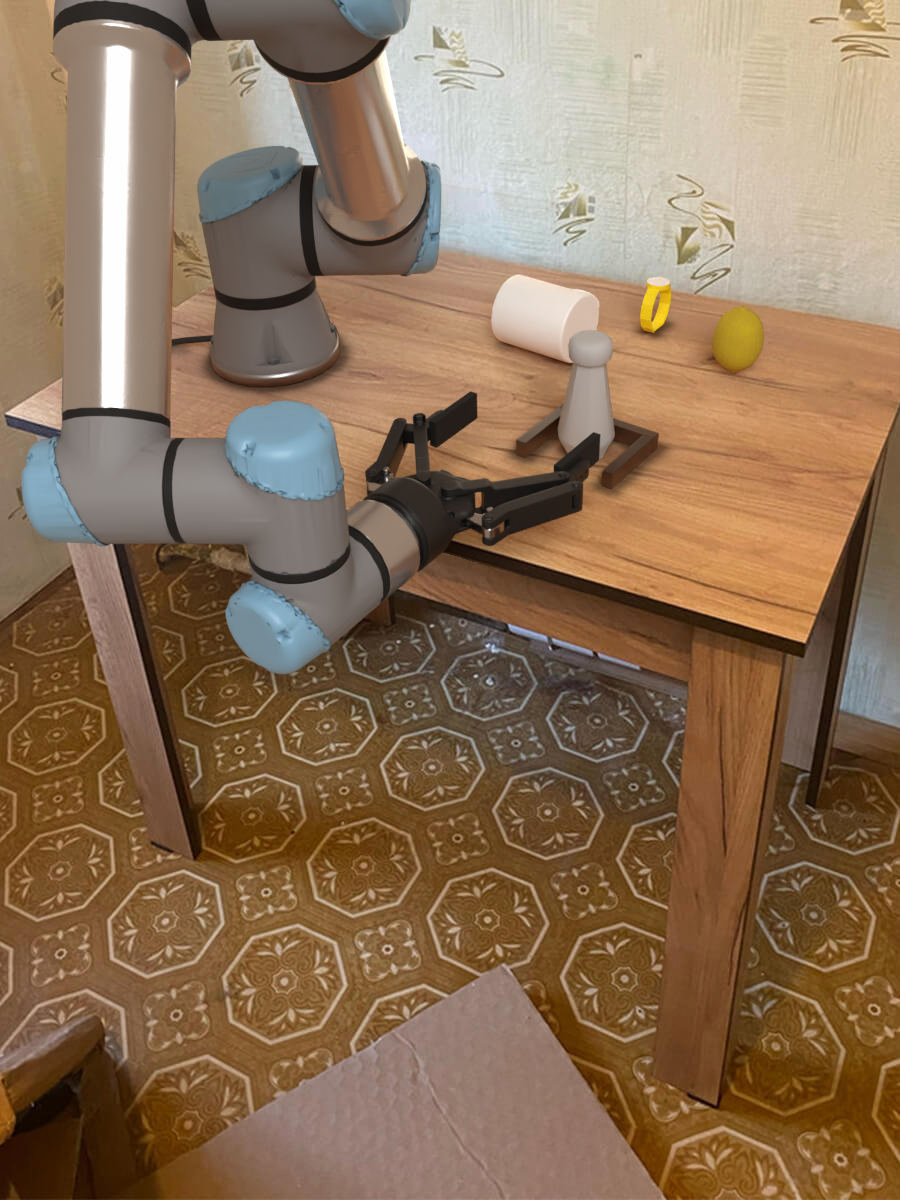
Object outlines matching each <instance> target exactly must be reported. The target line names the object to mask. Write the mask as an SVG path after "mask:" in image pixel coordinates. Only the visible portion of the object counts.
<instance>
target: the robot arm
mask: <svg viewBox="0 0 900 1200" xmlns="http://www.w3.org/2000/svg"><path fill="white" fill-rule="evenodd" d="M411 4H412V0H54V5H53V6H54V7H53V27H52V31H53V32H52V52H53V55H54V58H55V59H56V61H57V63H58V64H59V65H60V66H61V67H62V68H63V69H64V70H65V72H67V73H66V74H67V78H66V79H67V80H66V81H67V83H66V135H65V136H66V137H65V138H66V139H65V193H64V194H65V195H64V197H65V198H64V199H65V200H64V255H63V256H64V257H63V258H64V260H63V311H62V312H63V313H62V315H63V316H62V317H63V318H62V322H63V323H62V366H61V367H62V369H61V428H60V435H59V436H52V437H51V438H43V439H40V440H38V441H36V442H35V443H34V444H33V445H32V446H30V448H29V450H28V451H27V452H26V457H25V466H24V467H23V468H22V470H21V478H20V479H21V480H20V481H21V482H20V484H21V485H20V486H21V497H22V502H23V508H24V510H25V515H26V516H27V519H28V521H29V522H30V524H31V526H32V528H33V529H34V530H35V531H36V533H38V534H39V536H41V537H43V538H44V539H47V540H48V541H49V542H51V543H52V542H53V543H65V544H66V543H67V544H68V543H69V544H88V545H96V546H98V547H107V546H109V545H139V544H140V545H144V544H146V545H150V544H152V545H155V544H156V545H157V544H158V545H159V544H160V545H161V544H181V545H183V544H185V545H186V544H187V545H244V546H245V548H246V549H245V550H246V553H247V558H248V563H249V567H250V572H251V579H250V580H248V581H245V582H243V583H241V586H240V587H239V588H238V589H237V590H236V591H235V592H234V593H233V594H232V595H231V596H229V599H228V603H227V606H226V609H225V620H226V624H227V628H228V629H229V632H230V635H231V636H232V638H233V640H234V641H235V643H236V644H237V646H238V647H239V648H240V650H241V651H242V652H243V653H244V654H245V656H247V657H248V658H249V659H250V660H251V661H252V662H253V663H255V664H256V665H258V667H262V668H264V669H265V670H267V671H268V672H270V673H273V674H277V675H289V674H293V673H295V672H297V671H299V670H300V669H302V668H303V667H305V666H306V665H307V664H309V663H310V662H312V661H313V660H315V659H316V658H317V657H319V656H320V655H322V654H323V653H327V652H328V651H329V650H330V649H331V646H333V645H334V644H335V643H336V642H337V641H338V640H340V639H341V638H342V637H343V636H345V634H347V633H348V632H349V631H350V630H351V629H353V628H354V627H355V626H356V625H357V624H358V623H360V622H361V621H362V620H363V619H365V618H366V617H367V616H368V615H369V614H370V613H371V612H373V611H374V610H375V609H376V608H377V607H378V606H379V605H381V604H382V603H383V602H384V601H386V600H387V599H389V597H390V596H392V595H393V594H394V593H395V592H397V591H398V590H399V589H400V588H401V587H402V586H404V585H405V584H407V582H408V581H410V580H412V578H413V577H415V575H416V573H419V572H421V571H422V570H424V569H425V568H426V567H427V566H428V565H430V564H431V563H432V562H433V561H435V559H437V558H438V557H439V556H440V555H442V554H443V553H444V552H445V551H446V550H447V548H448V547H449V546H450V544H451V542H452V541H453V539H454V538H455V537H456V535H459V534H460V533H462V532H466V531H469V530H472V531H473V532H475V533H477V534H479V535H481V542H482V545H484V546H486V547H492V546H495V545H497V544H498V543H499V542H501V541H503V540H504V539H505V538H506V537H508V536H510V535H513V534H517V533H519V532H523V531H526V530H529V529H533V528H535V527H537V526H540V525H543V524H547V523H549V522H553V521H555V520H559V519H561V518H564V517H567V516H571V515H573V514H577V513H579V512H581V511H582V510H583V505H584V502H583V501H584V482H585V481H586V480H587V479H588V478H589V476H590V469H591V468H592V467H594V465H596V464H597V463H598V462H599V461H600V459H599V453H600V435H601V434H598V433H595V432H593V433H592V434H590V435H589V436H588V437H587V438H586V439H584V440H583V441H582V442H581V443H580V444H578V445H577V446H576V447H575V448H574V449H572V450H571V451H570V452H569V453H568V454H567V453H566V454H565V455H564V456H563V457H561V458H560V459H559V460H558V461H557V462H556V463H554V464H553V471H552V472H546V473H539V474H532V475H527V476H520V477H514V478H508V479H502V480H494V481H490V480H489V478H486V477H482V478H476V479H470V478H469V479H468V478H465V477H463V476H458V475H454V474H453V473H451V472H450V471H448V470H445V469H441V470H431V464H430V455H429V454H430V452H429V445H430V447H432V448H436V449H438V448H439V447H440V446H441V445H443V444H445V443H446V442H447V441H449V440H450V439H451V438H453V437H454V436H455V435H456V434H458V433H460V432H461V431H462V430H464V429H465V428H466V427H468V426H469V425H470V424H472V423H473V422H474V421H476V420H477V419H478V393H477V392H475V391H471V390H470V391H469V392H467V393H466V394H465V395H463V396H462V397H460V398H459V399H457V400H456V401H455V402H453V403H451V404H450V405H449V406H447V407H446V408H445V409H439V410H436V411H435V412H434V413H432V414H430V415H428V416H427V415H426V414H425V413H423V412H417V413H414V414H413V415H412V423H408V422H407V419H406V418H404V417H397V418H394V420H393V422H392V424H391V426H390V428H389V431H388V433H387V435H386V438H385V439H384V442H383V445H382V447H381V449H380V452H379V454H378V457H377V459H376V461H374V462H373V463H372V464H371V465H370V466H369V467H367V469H366V470H365V471H364V475H365V487H366V496H365V497H364V498H362V500H359V501H357V502H356V503H355V504H354V505H352V506H351V507H350V508H348V509H347V502H346V493H345V469H344V467H343V466H342V461H341V459H340V454H339V448H338V442H337V436H336V431H335V427H334V425H333V423H332V421H331V420H330V417H328V416H327V415H326V414H325V413H324V412H323V411H322V410H320V409H318V408H317V407H315V406H313V405H311V404H308V403H305V402H301V401H295V400H273V401H271V402H270V403H269V404H265V405H259V404H256V405H253V406H250V407H248V408H245V409H244V410H242V411H241V412H239V413H238V414H237V415H235V416H234V417H233V419H232V420H231V421H230V422H229V424H228V426H227V427H226V431H225V437H171V435H172V432H171V428H172V427H171V425H172V421H171V406H172V405H171V398H172V353H173V352H172V346H180V345H185V344H186V345H187V344H199V343H209V355H210V360H211V366H212V368H213V370H214V372H215V373H216V374H217V375H218V376H219V377H221V378H223V379H224V380H227V381H229V382H231V383H234V384H239V385H243V386H247V387H248V386H249V387H262V388H263V387H264V388H265V387H278V386H286V385H291V384H296V383H300V382H303V381H306V380H309V379H312V378H314V377H316V376H318V375H320V374H322V373H323V372H326V371H327V370H328V369H329V368H331V367H332V366H333V365H334V364H335V362H337V360H338V358H339V356H340V343H339V339H341V338H340V337H341V336H340V334H339V331H338V329H337V326H336V324H335V322H334V321H331V318H330V315H329V313H328V311H327V308H326V306H325V304H324V302H323V300H322V298H321V296H320V293H319V291H318V288H317V281H316V277H334V276H335V277H338V276H339V277H340V276H341V277H343V276H344V277H345V276H400V277H409V276H412V275H420V274H421V275H424V274H428V273H431V272H432V271H433V270H434V269H435V268H436V266H437V264H438V260H439V254H440V238H441V237H440V233H441V222H442V221H441V220H442V219H441V218H442V173H441V167H440V165H438V164H437V163H435V162H428V161H427V160H424V159H422V160H420V158H419V157H418V155H417V154H416V153H415V151H414V150H413V149H412V148H411V147H410V146H409V145H408V144H407V143H405V142H404V140H403V139H404V138H403V134H402V129H401V128H402V127H401V123H400V118H399V113H398V108H397V103H396V97H395V94H394V88H393V87H394V86H393V82H392V77H391V73H390V68H389V63H388V58H387V52H386V48H387V47H388V45H389V43H390V41H391V39H392V36H395V35H398V34H400V32H401V31H402V30H404V29H405V28H406V26H407V25H408V24H407V23H408V21H409V18H410V14H411V6H412V5H411ZM203 41H207V42H224V41H225V42H226V41H253V43H254V45H255V47H256V49H257V51H258V53H259V55H260V56H261V58H262V59H263V60H264V62H266V64H267V65H268V66H269V67H270V68H271V69H273V70H274V71H275V72H276V73H278V74H279V75H281V76H283V77H285V78H287V81H288V83H289V86H290V89H291V92H292V95H293V97H294V101H295V104H296V107H297V109H298V112H299V114H300V117H301V120H302V123H303V126H304V129H305V131H306V134H307V137H308V140H309V142H310V145H311V149H312V151H313V153H314V156H315V159H316V162H317V164H312V165H311V164H304V159H303V157H302V156H301V154H300V152H299V150H297V149H296V148H294V147H291V146H287V147H285V146H284V145H268V146H259V147H255V148H249V149H246V150H241V151H238V152H235V153H233V154H230V155H228V156H225V157H223V158H220V159H219V160H217V161H214V162H213V163H212V164H210V165H208V166H207V167H206V168H205V169H204V170H203V171H202V173H200V175H199V178H198V180H197V184H196V192H197V193H196V194H197V200H198V208H199V213H198V218H199V222H200V223H201V228H202V232H203V233H202V234H203V238H204V244H205V248H206V254H207V258H208V264H209V269H210V274H211V279H212V280H211V281H212V286H213V291H214V297H215V310H214V318H213V319H214V320H213V334H209V335H195V336H185V337H184V336H183V337H178V338H177V337H176V338H173V298H174V297H173V295H174V293H173V291H174V290H173V289H174V238H175V237H174V236H175V235H174V234H175V233H174V232H175V187H176V186H175V183H176V179H175V178H176V177H175V176H176V132H177V131H176V129H177V127H176V125H177V88H179V87H180V86H181V85H183V84H184V83H185V82H186V81H187V80H188V79H189V77H190V75H191V72H192V47H193V46H194V45H195V44H196V43H198V42H203ZM409 444H411V445H414V457H415V458H414V459H415V474H414V473H413V474H410V475H405V476H397V477H396V475H397V474H398V471H399V469H400V466H401V463H402V460H403V458H404V456H405V453H406V450H407V447H408V445H409ZM476 493H480V500H481V501H480V502H481V504H480V506H479V507H476Z"/></svg>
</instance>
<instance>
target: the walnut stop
mask: <svg viewBox="0 0 900 1200" xmlns="http://www.w3.org/2000/svg"><path fill="white" fill-rule="evenodd" d="M563 404H564V402H563V403H561V404H560V405H559V407H557V408H555V409H554V410H553V411H551V412H550V413H549V414H547V415H546V416H545V417H544V418H543V419H541V420H540V421H539V422H537V423H536V424H535V425H533V426H532V427H531V428H530V429H528V430H527V431H526V432H525V433H523V434H522V435H521V436H519V437H518V438H516V440H515V453H516V456H519V457H521V458H524V459H526V458H528V457H529V456H530V455H532V454H533V453H534V452H535V451H536V450H538V449H539V448H540V447H542V446H543V445H544V444H545V443H546V442H548V441H549V440H550V439H552V438H553V437H554V436H555V435H557V434H558V425H559V420H560V416H561V412H562V408H563ZM613 423H614V431H615V436H614V439H613V441H616V442H619V443H622V444H625V445H628V446H629V447H627V448H626V449H625V450H624V451H623V452H622V453H621V454H619V456H617V457H616V458H615V459H614V460H613V461H612V462H611V463H609V464H608V465H607V466H606V467H605V468H604V469H602V474H601V475H602V476H601V486H602V487H604V488H608V489H610V490H613V489H614V488H615V487H616V486H618V484H619V483H620V482H621V481H623V480H624V479H625V478H626V477H627V476H628V475H629V474H630V473H632V471H633V470H635V469H636V468H637V467H638V466H639V465H640V464H641V463H642V462H644V460H646V459H647V458H648V457H649V456H650V455H651V454H652V453H654V451H656V450H657V449H658V446H659V437H660V433H659V432H657V431H653V430H651V429H649V428H645V427H641V426H639V425H635V424H633V423H629V422H626V421H623V420H620V419H617V418H614V417H613Z"/></svg>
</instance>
